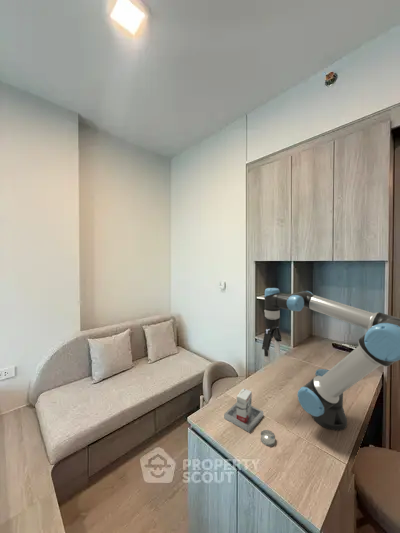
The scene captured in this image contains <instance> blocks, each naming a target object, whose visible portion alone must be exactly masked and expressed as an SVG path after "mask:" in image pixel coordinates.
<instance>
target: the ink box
mask: <svg viewBox="0 0 400 533" xmlns="http://www.w3.org/2000/svg"><path fill="white" fill-rule="evenodd" d="M252 393H253V392H252V391H251V390H249V389H247V388H242V389H241V390H240V391H239V393H238V394H237V395H236V402H237V419H238V420H240V421H241V422H243V423H246V422H247V420H248V418H249V416H250V415H251V406H252V403H253V402H252V396H253V395H252Z"/></svg>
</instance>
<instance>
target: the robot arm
mask: <svg viewBox="0 0 400 533" xmlns="http://www.w3.org/2000/svg"><path fill="white" fill-rule="evenodd" d="M280 292H281V291H280V289H279V288H277V287H267V288H265V290H264V310H263V311H264V312H263V313H264V317H265V318H264V325H265V326H267V328H266V329H264V333H263V334H264V335H263V340H262V345H261V350H263V358H264V360H263V361H264V362H265V363H268V364H270V363H271V350H270V346H271V344H272V339H273V338H274V342H273V343H274V354H278V355H279V354H281V342H282V341H283V340H282V334H281V328H280V326H281V325H280V324H281V323H280V322H281V321H280V320H281V315H280V312H281V310H280V309H282V310H289V311H291V312H301V311H302V310H303V308H306V309H309V310H312V311H314V312H317V313H320V314H324V315H326V316H328V317H331V318H334V319H336V320H339V321H342V322H345V323H347V324H351V325H353V326H356V327H358V328H361V329H364V330H367V331H366V332H365V333H364V335H362V336H361V337H360V338H359V339H358V341H357V343H358V346H356V347H355V348H354V349H353V350H352V351H350V353H348V354H347V355H346V356H345V357H343V358H342V359H341V360H340V361H339V362H338V363H336V364H335V365H334V366H333V367H331V368H330V369H325V368H319V369H316V370H315V374H314V375H315V376H314V377H313V378H312V379H310V381H308V382H307V383H306V384H305V385H303V386H301V387H299V388H300V389H298V391H297V394H296V395H297V399H298V403H299V404H300V406H301V408H302V409H303V410H304V411H305V412H306V413H307V414H309V415H311V418H312V420H314V422H316V424H319V425H320V426H322V427H324V428H325V429H328V430H331V431H332V430H333V431H342V430H345V429H347V426H348V420H347V416H346V412H345V410H344V392H346V391H347V390H348V389H349V390H350V388H352V387H353V386H354V385H356V384H357V383H358V382H360V381H361V380H362V379H364V378H365V377H366V376H368V375H370V374H371V373H372V372H373V371H375V370H376V369H378V368H379V367H381V366H382V367H385V368H386V367H387V368H388V367H390V366H392V365H393V364H394V363H397V362H398V361H400V317H398V316H394V315H390V314H386V313H384V312H381V311H380V312H379V311H377V312H371V311H368V310H366V309H365V310H364V309H362V308H358V307H355V306H352V305H348V304H345V303H342V302H340V301H339V302H338V301H335V300H332V299H329V298H325V297H322V296H319V295H315V294H313V293H312V292H311V291H309V290H302V291H299V292H294V293H290V294H289V293H280Z"/></svg>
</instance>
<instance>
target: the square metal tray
mask: <svg viewBox="0 0 400 533" xmlns="http://www.w3.org/2000/svg"><path fill="white" fill-rule="evenodd" d="M223 416H224V420H226V421H228V422H229V423H231V424H233V425H235V426H237V427H238V428H240V429H242V430H243V431H245V432H247V433H249V434H250V433H251V432H252V431H253V430H254V429H255V428H256V426H257V425H258V423H259V422H261V420H262V419H263V417H264V411H263V410H261V409H259V408H257V407H254V406H253V405H251V415H250V416H249V418H248V420H247V422H246V423H243V422H241V421H240V420H238V419H237V401H236V402H235V403H234V404H233V405H232V406H230V408H229V409H228V410H227V411H225V412H224V414H223Z"/></svg>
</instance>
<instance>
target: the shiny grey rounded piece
mask: <svg viewBox="0 0 400 533" xmlns="http://www.w3.org/2000/svg"><path fill="white" fill-rule="evenodd" d="M260 442H261V443H262V444H263V445H264V446H266V447H273V446H275V443H276V435H275V433H274V432H273V431H271V430H269V429H263V430H262V431H260Z"/></svg>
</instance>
